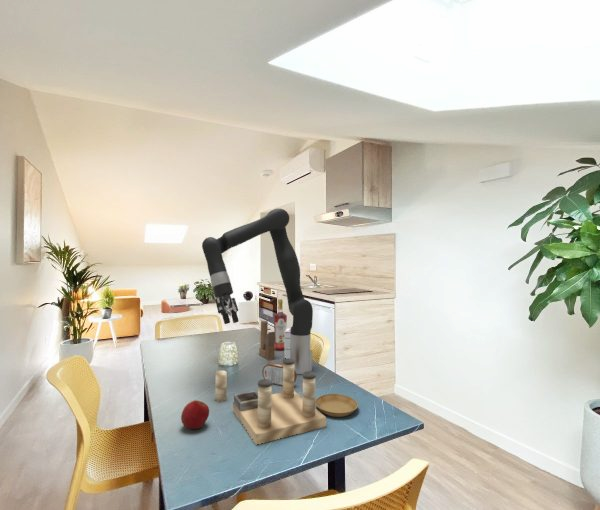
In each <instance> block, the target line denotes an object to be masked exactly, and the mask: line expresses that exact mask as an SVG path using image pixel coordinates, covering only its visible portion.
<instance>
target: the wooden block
mask: <svg viewBox="0 0 600 510" xmlns="http://www.w3.org/2000/svg"><path fill="white" fill-rule="evenodd" d="M268 325H269V324H268V320H261V321H260V348H259V349H258V355H259V356H261V357H263V358H264V359H265V360H268V361H270V360H271V361H272V360H275V354H276V353H275V350H276V349H275V331H269V332H268V328H269V327H268Z"/></svg>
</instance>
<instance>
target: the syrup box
mask: <svg viewBox="0 0 600 510" xmlns="http://www.w3.org/2000/svg"><path fill="white" fill-rule="evenodd" d="M290 331H291V327H290V328H286V330H285V331H284V350H283V351H284V352H283V353H284V359H285V358H286V359H290Z"/></svg>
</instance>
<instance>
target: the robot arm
mask: <svg viewBox="0 0 600 510" xmlns="http://www.w3.org/2000/svg"><path fill="white" fill-rule="evenodd" d="M289 223H290V214H289V213H288V211H286V210H285V209H283V208H274V209H272V210H271V211H269V212H268V213H267V214H266V215H264V216H262V217H261V218H259V219H257V220H254V221H252V222H249V223H246V224H243V225H241V226H238V227H235V228H233V229H231V230H227V231H226V232H224V233H223V234H222V236H220V237H218V238H215V237H212V236H208V237H205V239H204V240H203V241H202V242H201V243H202V244H201V248H202V251H203V255H204V258H205V261H206V263H207V264H206V265H207V271H208V273H209V277H210V283H211V288H212V291H213V294H214V297H215V299H214V301H215V305H216V308H217V313H218V314H220V315H221V316H222V319H223V320H222V321H223V324H225V325H227V324H230V323H231V320H230V319H232V322H233V324H237V323H239V317H238V316H239V315H238V312H239V308H238V304H237V301H236V298H235V297H231V295H232V294H233V293H234V290H233V286H232V282H231V279H230V276H229V274H228V272H227V271H228V270H227V267H226V264H225V262H224V260H223V255H222V254H223V253H225V252H227V251H229V250H230V249H232V248H235V247H237V246H239V245H242V244H243V243H246V242H248V241H250V240H252V239H254V238H256V237H257V236H258V237H259V236H260V235H263V234H265V233H269V234H270V237H271V240H272V242H273V248H274V253H275V257H276V260H277V265H278V270H279V272H280V277H281V280H282V282H283V283H282V284H283V285H284V288H285V291H286V300H287V305H288V311H289V313H290V314H291V316H292V326H291V327H290V328H291V331H290V359H294V360H295V363H294V370H295V371H296V374H297V375H303V373H304V372H313V351H312V350H311V334H312V333H311V332H312V328H313V317H314V316H313V315H314V314H313V313H314V312H313V311H314V310H313V306H312V303H311V302H310V301H309V300H308V299H305V297H304V294H303V291H302V287H301V268H300V263H299V259H298V256H297V253H296V250H295V249H294V247H293V245H292V243H291V241H290V240H289V237H288V233H287V228H286V227H287V226H288V224H289ZM229 313H230V316H231V318H230V316H229Z"/></svg>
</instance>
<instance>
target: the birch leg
mask: <svg viewBox="0 0 600 510" xmlns="http://www.w3.org/2000/svg"><path fill="white" fill-rule="evenodd" d="M227 375H228V372H227V371H226V370H223V369H222V370H217V371H215V383H214V384H215V386H214V387H215V391H214V392H215V395H214V397H215V398H214V399H215V400H216V401H215V400H214V401H215V402H217V401H218V403H222V402H221V401H223V402H225V401H227V392H228V391H227V389H228V383H227V380H228V376H227ZM219 401H220V402H219Z"/></svg>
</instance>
